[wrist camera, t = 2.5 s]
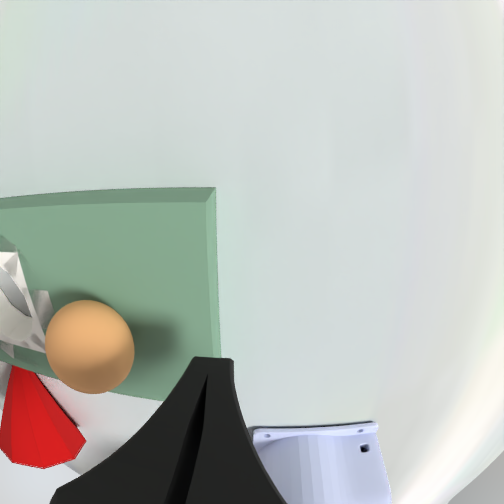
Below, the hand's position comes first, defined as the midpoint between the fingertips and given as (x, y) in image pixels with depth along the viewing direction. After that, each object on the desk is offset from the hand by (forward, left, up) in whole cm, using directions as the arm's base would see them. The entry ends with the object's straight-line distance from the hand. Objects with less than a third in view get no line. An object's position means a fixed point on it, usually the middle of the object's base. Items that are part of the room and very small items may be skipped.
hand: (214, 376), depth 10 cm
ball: (+5, 0, -1) cm, 6 cm away
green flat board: (+9, 0, -5) cm, 11 cm away
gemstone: (+18, +12, -6) cm, 22 cm away
